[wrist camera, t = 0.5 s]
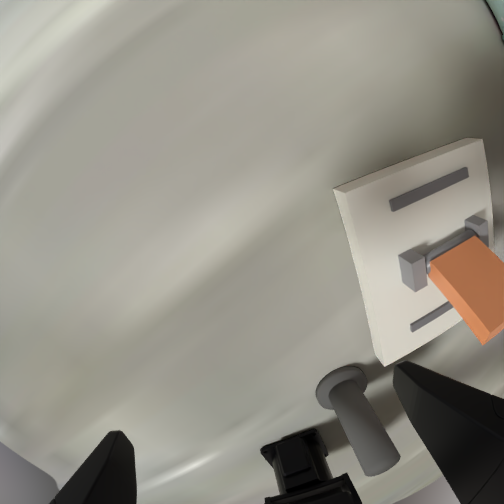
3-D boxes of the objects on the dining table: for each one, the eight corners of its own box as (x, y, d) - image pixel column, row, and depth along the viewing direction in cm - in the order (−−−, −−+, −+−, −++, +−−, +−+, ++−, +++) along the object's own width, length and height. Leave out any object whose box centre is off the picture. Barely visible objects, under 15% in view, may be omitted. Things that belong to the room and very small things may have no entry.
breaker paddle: (464, 239, 22) (528, 306, 15) (416, 267, 22) (479, 347, 15) (467, 225, 20) (535, 293, 14) (417, 252, 20) (487, 335, 14)
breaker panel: (480, 289, 26) (503, 304, 23) (374, 354, 26) (393, 379, 23) (466, 137, 21) (497, 140, 17) (332, 188, 21) (357, 198, 17)
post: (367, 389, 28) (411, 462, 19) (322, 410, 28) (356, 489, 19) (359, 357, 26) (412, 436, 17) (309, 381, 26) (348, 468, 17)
